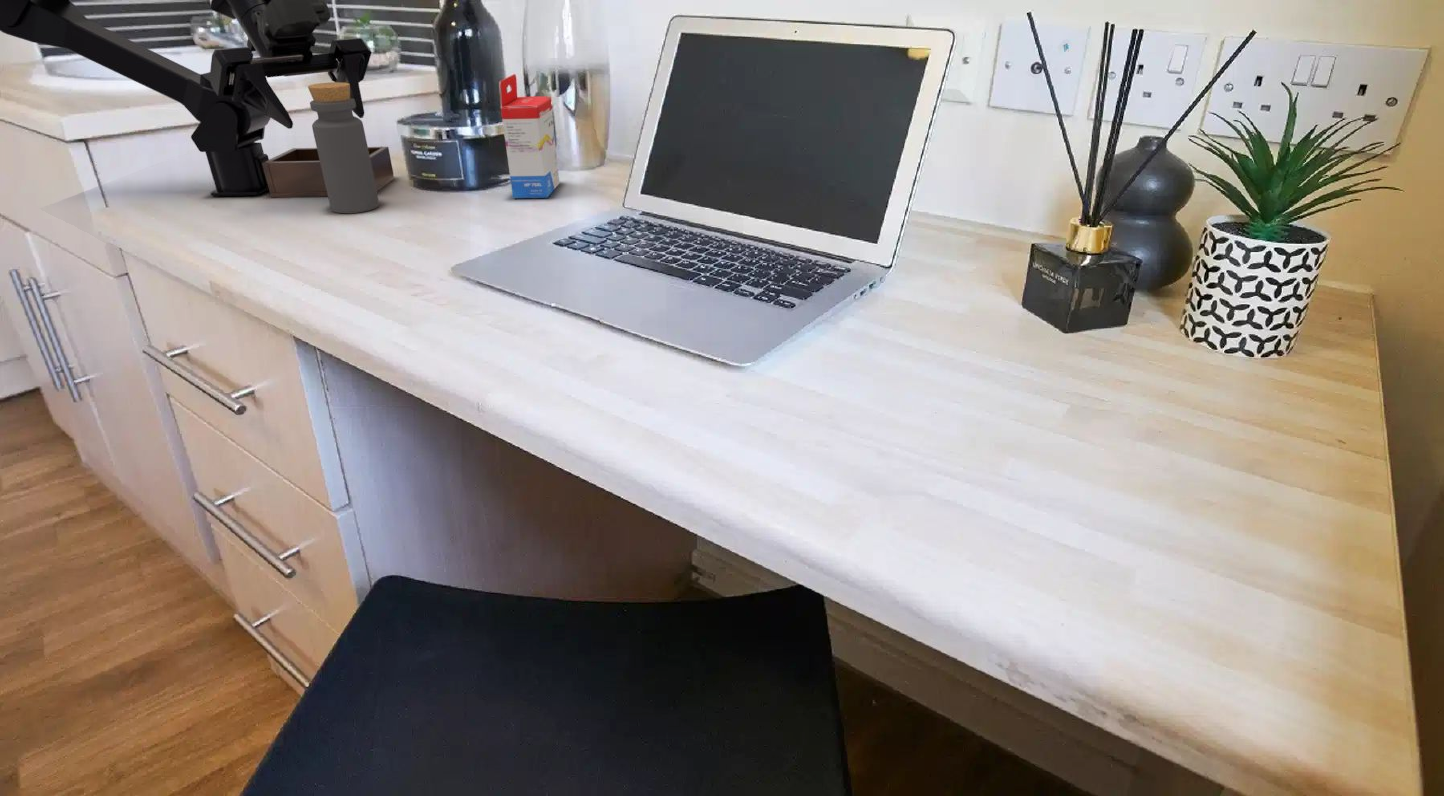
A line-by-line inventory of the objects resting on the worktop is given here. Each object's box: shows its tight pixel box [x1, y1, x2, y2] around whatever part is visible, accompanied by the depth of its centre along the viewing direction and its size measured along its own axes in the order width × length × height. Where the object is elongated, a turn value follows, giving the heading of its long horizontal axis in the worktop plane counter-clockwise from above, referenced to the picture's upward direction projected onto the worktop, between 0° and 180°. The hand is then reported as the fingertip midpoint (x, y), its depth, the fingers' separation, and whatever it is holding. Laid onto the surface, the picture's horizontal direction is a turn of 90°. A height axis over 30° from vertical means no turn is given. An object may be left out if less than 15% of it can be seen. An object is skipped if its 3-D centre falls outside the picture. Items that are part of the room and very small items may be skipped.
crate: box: [262, 146, 395, 198], centre depth 117 cm, size 14×10×5 cm
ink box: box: [498, 73, 560, 199], centre depth 112 cm, size 8×5×15 cm, turn 179°
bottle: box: [307, 81, 380, 214], centre depth 105 cm, size 6×6×15 cm
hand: (327, 120), depth 105 cm, fingers open, 9 cm apart
